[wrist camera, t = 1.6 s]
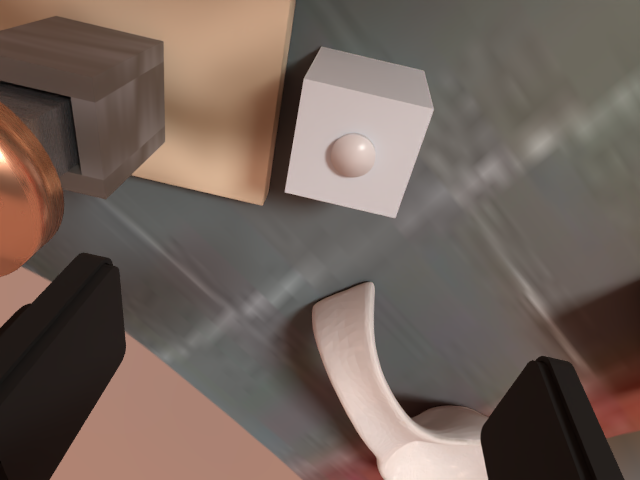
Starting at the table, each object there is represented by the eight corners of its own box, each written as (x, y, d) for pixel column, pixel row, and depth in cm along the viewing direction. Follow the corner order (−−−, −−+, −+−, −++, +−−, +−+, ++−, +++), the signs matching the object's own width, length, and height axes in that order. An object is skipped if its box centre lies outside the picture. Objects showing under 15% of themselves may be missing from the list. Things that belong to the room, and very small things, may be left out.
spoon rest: (548, 449, 37) (578, 546, 31) (422, 475, 42) (427, 563, 36) (415, 254, 27) (422, 341, 22) (269, 317, 32) (243, 402, 26)
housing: (321, 46, 21) (302, 80, 16) (423, 70, 21) (434, 111, 16) (303, 142, 24) (283, 195, 19) (393, 163, 24) (395, 221, 19)
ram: (-31, 8, 16) (-252, 50, 11) (137, 47, 16) (7, 111, 11) (7, 162, 20) (-141, 253, 14) (144, 193, 20) (50, 297, 15)
